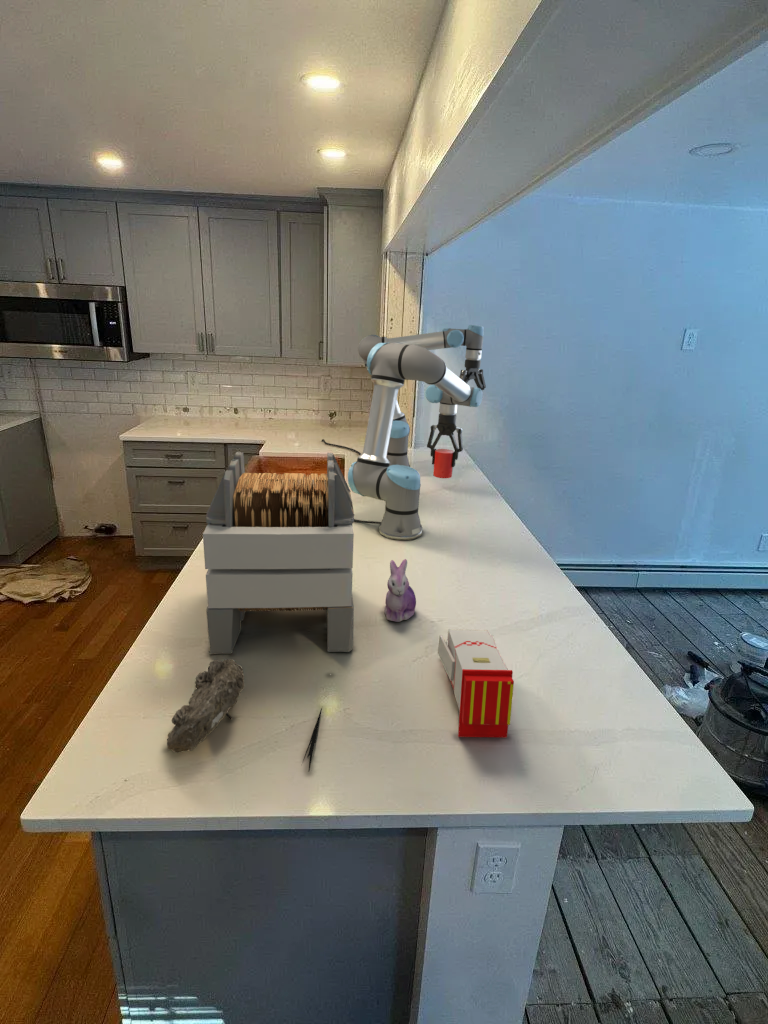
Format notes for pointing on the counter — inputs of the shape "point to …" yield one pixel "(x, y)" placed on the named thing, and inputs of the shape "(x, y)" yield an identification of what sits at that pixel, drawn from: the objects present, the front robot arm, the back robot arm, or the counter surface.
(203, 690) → the fossil
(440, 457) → the tin
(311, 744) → the feather
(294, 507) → the record storage crate
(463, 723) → the toy
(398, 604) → the figurine
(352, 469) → the front robot arm
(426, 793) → the counter surface
